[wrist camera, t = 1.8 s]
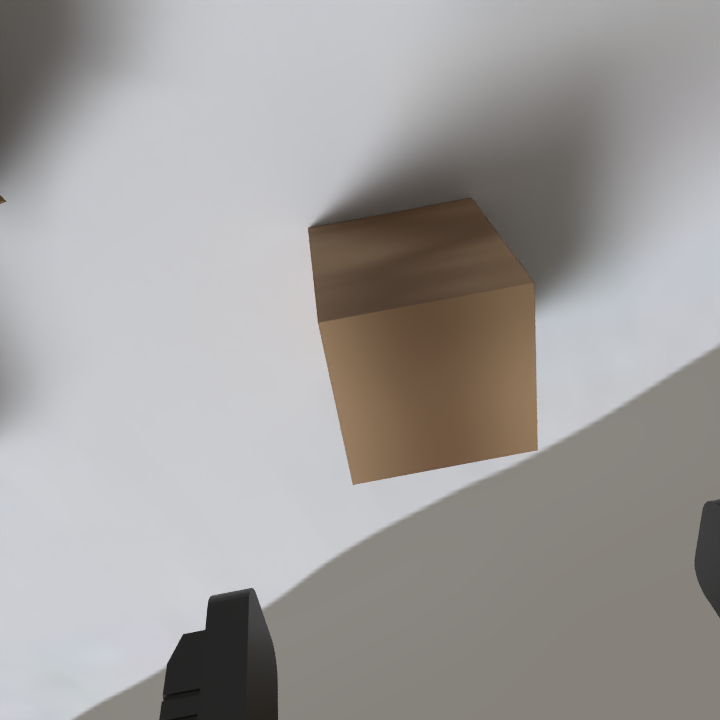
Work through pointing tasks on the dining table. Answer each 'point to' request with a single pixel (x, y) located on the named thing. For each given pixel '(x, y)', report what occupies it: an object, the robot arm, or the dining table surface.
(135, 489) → the dining table surface
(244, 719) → the robot arm
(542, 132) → the dining table surface
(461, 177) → the dining table surface
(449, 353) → the walnut block
